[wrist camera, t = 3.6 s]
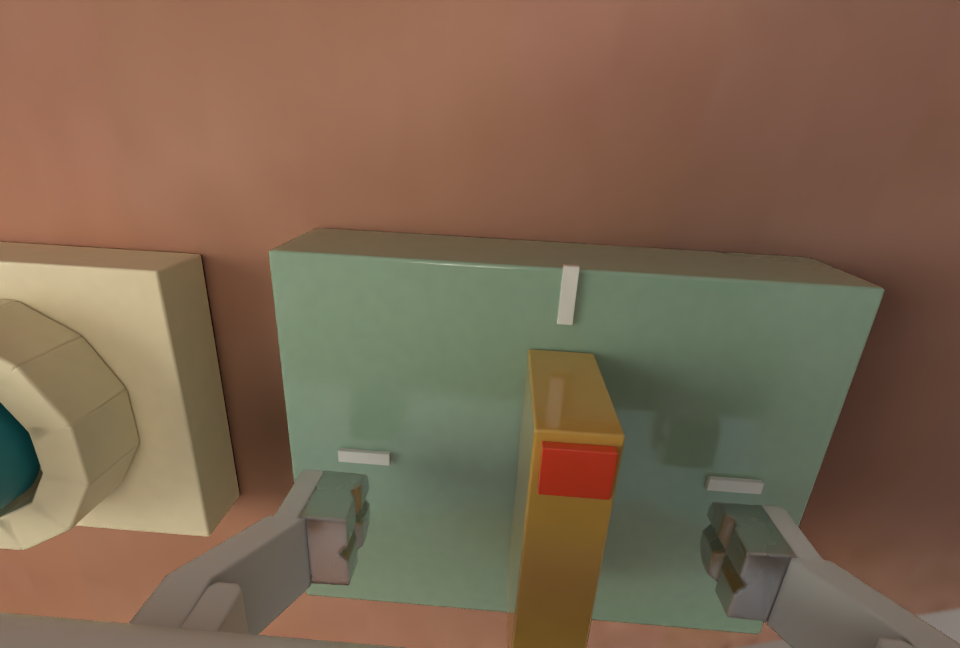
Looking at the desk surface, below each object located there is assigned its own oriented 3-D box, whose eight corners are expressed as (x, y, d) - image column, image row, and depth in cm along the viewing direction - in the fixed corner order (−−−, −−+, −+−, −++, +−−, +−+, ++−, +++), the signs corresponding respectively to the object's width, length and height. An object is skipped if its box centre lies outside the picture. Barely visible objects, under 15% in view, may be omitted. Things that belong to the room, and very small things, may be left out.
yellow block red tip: (562, 570, 14) (578, 710, 11) (507, 566, 14) (506, 703, 11) (594, 352, 12) (629, 444, 8) (527, 348, 12) (534, 437, 8)
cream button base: (201, 253, 15) (96, 294, 11) (240, 495, 18) (169, 590, 14) (-119, 233, 15) (-326, 266, 11) (-23, 474, 18) (-159, 561, 15)
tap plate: (720, 558, 18) (762, 642, 15) (336, 526, 18) (303, 602, 15) (812, 253, 14) (894, 286, 11) (314, 223, 14) (263, 247, 11)
